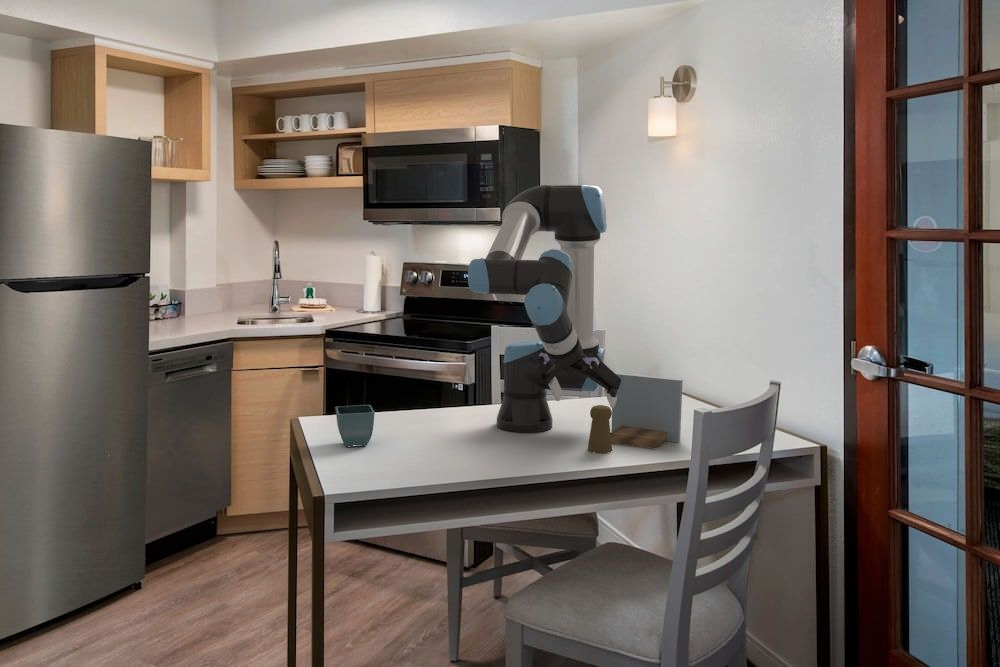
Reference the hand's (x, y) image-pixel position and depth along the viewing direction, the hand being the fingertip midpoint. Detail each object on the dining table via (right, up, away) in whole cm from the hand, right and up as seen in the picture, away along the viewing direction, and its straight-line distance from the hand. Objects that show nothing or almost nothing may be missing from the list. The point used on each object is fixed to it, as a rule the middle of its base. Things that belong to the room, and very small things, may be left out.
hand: (586, 399), depth 197 cm
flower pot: (-56, -12, +13) cm, 58 cm away
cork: (+4, -13, +11) cm, 18 cm away
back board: (+18, -12, +23) cm, 32 cm away
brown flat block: (+15, -12, +19) cm, 27 cm away
